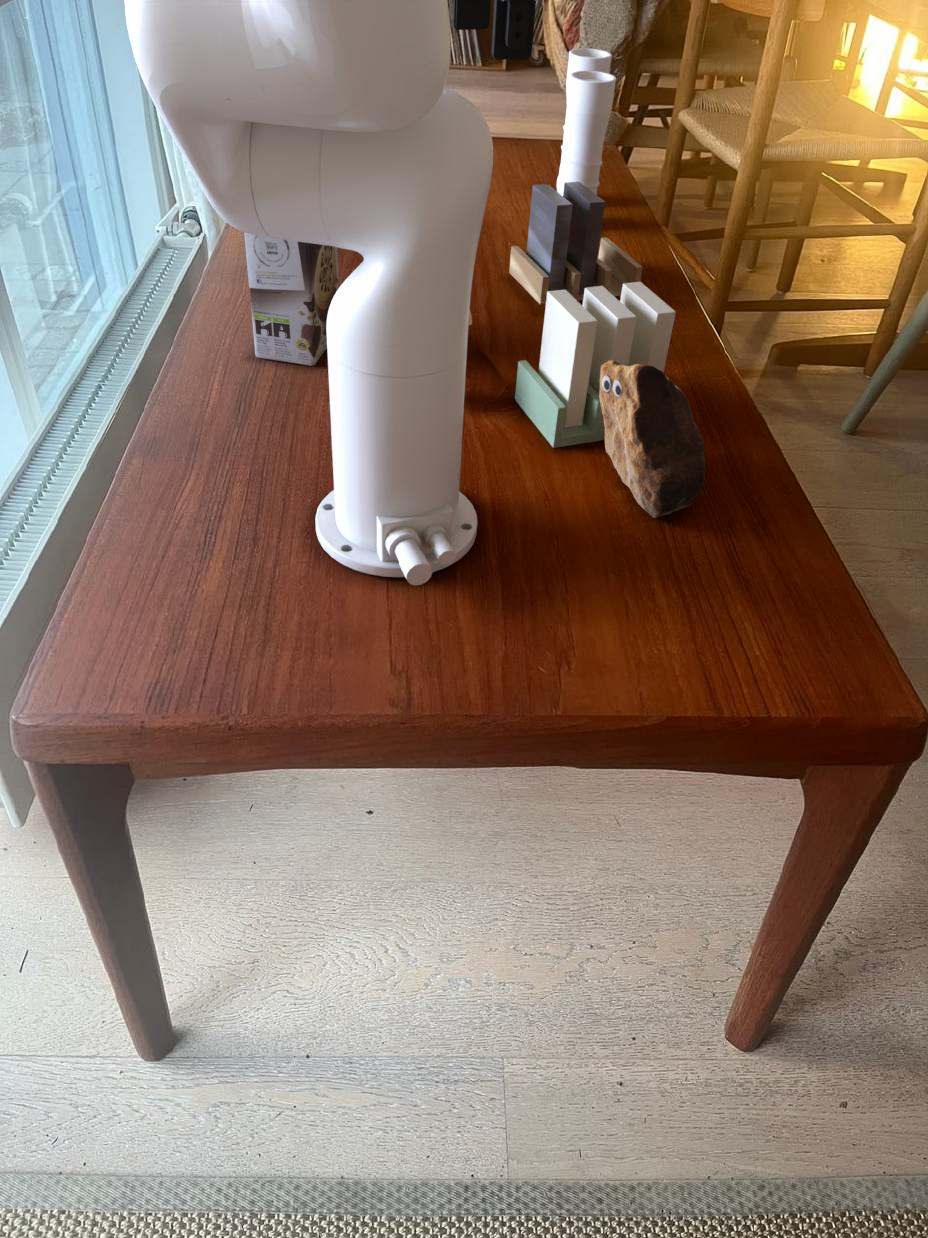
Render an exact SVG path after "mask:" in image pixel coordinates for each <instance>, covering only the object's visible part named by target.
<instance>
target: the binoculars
mask: <svg viewBox="0 0 928 1238" xmlns="http://www.w3.org/2000/svg"><path fill="white" fill-rule="evenodd" d="M612 57H613V55H612V53H611V52H608V51H606V50H604V49H603V50H602V49H597V48H590V47H581V48H573V49H570V50H569V51H568V61H567V62H568V63H567V70H566V71H567V72H566V80H565V83H566V84H565V86H566V87H565V88H566V93H565V95H566V111H565V118H564V119H565V120H564V125H563V126H562V129H563V137H562V144H561V146H560V149H561V156H560V164H559V171H558V176H557V179H556V191H557V192H558V193H559V194H561V195H562V196H563V192H564V183H567V182H580V183H581V184H583V185H584V186H585V187H587V188H588V189H589V190H591V191H592V192H593V193H594V194H596V195H597V193H598V187H599V186H600V181H599V179H600V171H601V167H602V165H603V159H602V157H603V150H604V142H605V136H606V133H607V129H608V125H609V122H610V118H611V114H612V110H613V103H614V97H615V90H616V89H615V88H616V82H617V78H616V76H615V75H613V74H611V73H610V72H611V71H610V70H611V63H612Z"/></svg>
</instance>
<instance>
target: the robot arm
mask: <svg viewBox="0 0 928 1238" xmlns="http://www.w3.org/2000/svg"><path fill="white" fill-rule="evenodd" d="M448 1H449V0H123V2H124V14H125V22H126V29H127V32H128V33H127V35H128V39H129V42H130V46H131V50H132V54H133V59H134V61H135V64H136V67H137V69H138V72H139V75H140V78H141V80H142V82H143V84H144V87H145V89H146V91H147V92H148V95H149V97H150V99H151V101H152V102H153V105H154V106H155V109H156V110H157V112H158V114H159V116H160V117H161V120H162V121H163V123H164V125H165V126H166V128H167V130H168V132H169V133H170V135H171V137H172V139H173V141H174V144H176V146H177V148H178V149H179V151H180V154H182V157H183V158H184V161H185V162H186V164H187V165H188V167H189V169H190V172H191V173H192V175H193V176H194V178H195V180H196V182H197V184H198V185H199V187H200V189H201V190H202V192H203V194H204V196H205V198H206V199H207V200H208V202H209V203H210V205H211V207H212V209H213V210H214V211H215V213H216V214H217V215H218V216H219V217H220V218H221V219H222V220H223V221H224V222H225V223H226V224H227V225H229V226H231V227H233V228H234V229H236V230H238V231H240V232H242V233H244V232H246V233H249V234H253V235H258V236H263V237H270V238H275V239H282V240H290V241H297V242H305V243H313V244H320V245H328V246H335V247H337V249H343V250H348V251H353V252H357V253H359V254H360V255H361V256H362V257H363V258H362V259H363V261H362V262H361V263H360V264H359V265H358V266H356V268H355V269H354V270H353V271H352V272H351V273H350V274H349V275H348V276H347V277H346V278H345V280H344V281H342V283H341V285H339V289H338V290H337V292H336V293H335V295H334V297H333V299H332V301H331V304H330V307H329V310H328V315H327V324H326V333H327V348H326V350H327V352H326V353H327V370H328V371H327V372H328V373H327V374H328V392H329V412H330V433H331V434H330V435H331V452H332V453H331V454H332V455H331V456H332V474H333V475H332V476H333V490H331V491H330V492H329V493H328V494H327V495H326V496H325V497H324V498H323V499H322V500H321V502H320V503H319V505H318V507H317V509H316V514H315V521H314V522H315V533H316V536H317V540H318V542H319V544H320V546H321V547H322V549H323V550H324V551H325V553H327V554H328V555H329V556H330V558H332V559H334V560H335V561H336V562H337V563H339V564H341V565H343V566H345V567H347V568H349V569H352V570H353V571H357V572H359V573H364V574H367V575H370V576H378V577H384V578H405V579H406V581H407V583H408V584H409V585H412V586H422V585H423V584H426V583H427V582H428V581H429V580H430V579H431V578H432V575H433V573H435V572H438V571H441V570H443V569H446V568H448V567H449V566H452V565H453V564H455V563H456V562H458V561H460V560H461V559H463V557H464V556H465V555H467V553H468V552H469V551H470V549H472V547H473V545H474V543H475V540H476V539H477V538H476V537H477V535H478V533H477V532H478V531H477V530H478V516H477V511H476V509H475V508H474V505H473V504H472V502H471V501H470V500H469V499H468V497H467V496H466V495H464V494H463V493H462V492H461V491H460V487H461V485H460V483H461V465H462V448H463V431H464V429H463V428H464V411H465V393H466V377H467V376H466V375H467V360H468V359H467V357H468V340H469V326H470V321H469V311H471V309H470V308H471V307H470V306H471V297H472V288H473V278H474V270H475V263H476V258H477V250H478V246H479V241H480V236H481V231H482V226H483V221H484V216H485V211H486V207H487V202H488V198H489V192H490V188H491V181H492V176H493V165H494V142H493V137H492V133H491V130H490V126H489V124H488V121H487V119H486V118H485V116H484V115H483V113H482V112H481V111H480V110H479V108H478V107H477V106H476V105H475V104H474V103H473V102H472V101H470V100H469V99H468V98H466V97H465V96H463V95H461V94H459V93H458V92H455V91H453V90H452V89H451V90H450V89H448V88H446V83H447V80H448V77H449V71H450V64H451V53H452V52H451V51H452V50H451V49H452V47H451V45H452V44H451V43H452V42H451V41H452V35H451V24H452V27H453V28H454V29H455V30H457V31H467V30H469V31H470V30H471V31H473V30H487V29H488V28H489V27H490V24H491V23H490V21H491V6H492V5H491V4H492V0H452V19H451V18H450V10H449V9H450V8H449V2H448ZM537 1H538V0H494V2H493V18H492V19H493V20H492V37H491V56H492V58H494V60H497V61H502V60H503V61H504V60H505V61H506V60H527V59H528V60H529V59H530V58H531V56H532V54H533V43H534V33H535V31H534V30H535V20H536V19H535V18H536V7H537Z"/></svg>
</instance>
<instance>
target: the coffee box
mask: <svg viewBox="0 0 928 1238" xmlns="http://www.w3.org/2000/svg"><path fill="white" fill-rule="evenodd" d="M243 238H244V248H245V258H246V268H247V269H246V270H247V280H248V289H249V290H248V291H249V298H250V299H249V300H250V311H251V320H252V321H251V322H252V332H253V342H254V355H255V357H256V358H258V359H259V358H260V359H265V360H272V361H277V362H278V361H280V362H285V363H290V364H297V365H302V366H303V365H304V366H310V367H313V366H316V364H317V362H318V361H319V359H320V358H321V356H322V355H323V354H324V353H325V351H326V350H327V333H326V324H327V315H328V310H329V307H330V304H331V301H332V299H333V297H334V295H335V293H336V292H337V290H338V289H339V287H340V278H339V277H340V275H339V256H338V255H339V253H338V252H339V251H338V248H337V247H335V246H328V245H320V244H313V243H305V242H297V241H290V240H282V239H275V238H270V237H263V236H258V235H253V234H249V233H246V232H243Z"/></svg>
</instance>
